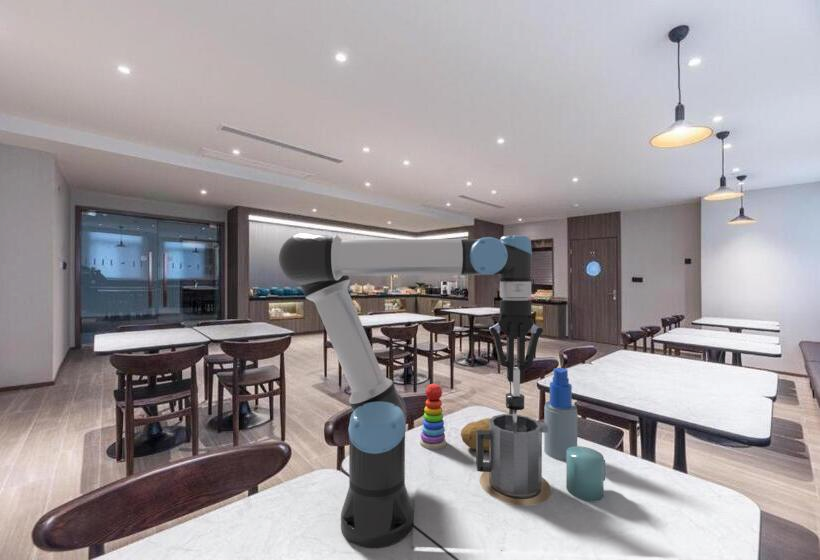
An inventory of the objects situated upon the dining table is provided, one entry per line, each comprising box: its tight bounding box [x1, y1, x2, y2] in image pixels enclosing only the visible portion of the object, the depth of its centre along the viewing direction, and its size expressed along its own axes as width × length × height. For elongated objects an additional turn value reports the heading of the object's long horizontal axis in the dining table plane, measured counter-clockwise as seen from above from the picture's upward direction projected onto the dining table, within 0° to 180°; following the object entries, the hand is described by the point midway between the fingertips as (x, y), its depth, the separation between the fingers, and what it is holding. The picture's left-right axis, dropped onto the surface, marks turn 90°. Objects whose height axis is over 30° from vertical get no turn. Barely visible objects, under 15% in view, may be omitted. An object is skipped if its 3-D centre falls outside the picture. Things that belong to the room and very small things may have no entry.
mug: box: [565, 445, 606, 502], centre depth 87 cm, size 10×8×10 cm
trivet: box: [479, 472, 553, 507], centre depth 90 cm, size 17×17×1 cm
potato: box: [460, 417, 492, 452], centre depth 109 cm, size 9×16×9 cm, turn 88°
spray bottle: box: [543, 367, 578, 462], centre depth 106 cm, size 9×9×25 cm
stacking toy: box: [419, 383, 447, 450], centre depth 112 cm, size 8×8×19 cm
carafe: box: [475, 413, 548, 499], centre depth 90 cm, size 17×12×15 cm
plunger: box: [505, 392, 525, 432], centre depth 90 cm, size 9×9×12 cm
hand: (515, 394), depth 90 cm, fingers closed
